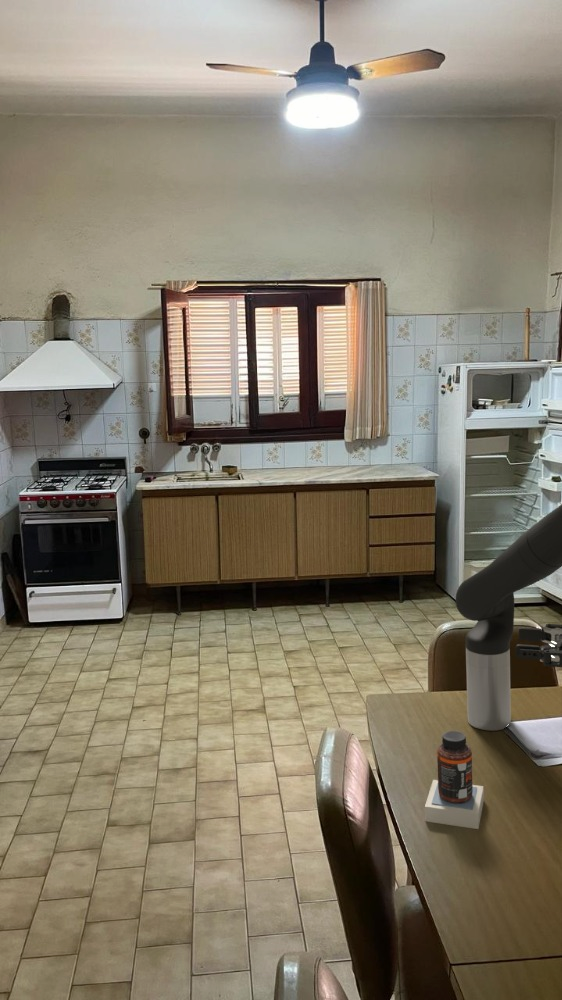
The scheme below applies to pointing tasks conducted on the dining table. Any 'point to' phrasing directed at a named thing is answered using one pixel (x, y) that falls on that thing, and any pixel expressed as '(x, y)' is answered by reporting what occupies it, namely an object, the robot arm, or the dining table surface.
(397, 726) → the dining table surface
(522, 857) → the dining table surface
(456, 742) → the supplement bottle
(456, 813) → the plinth
